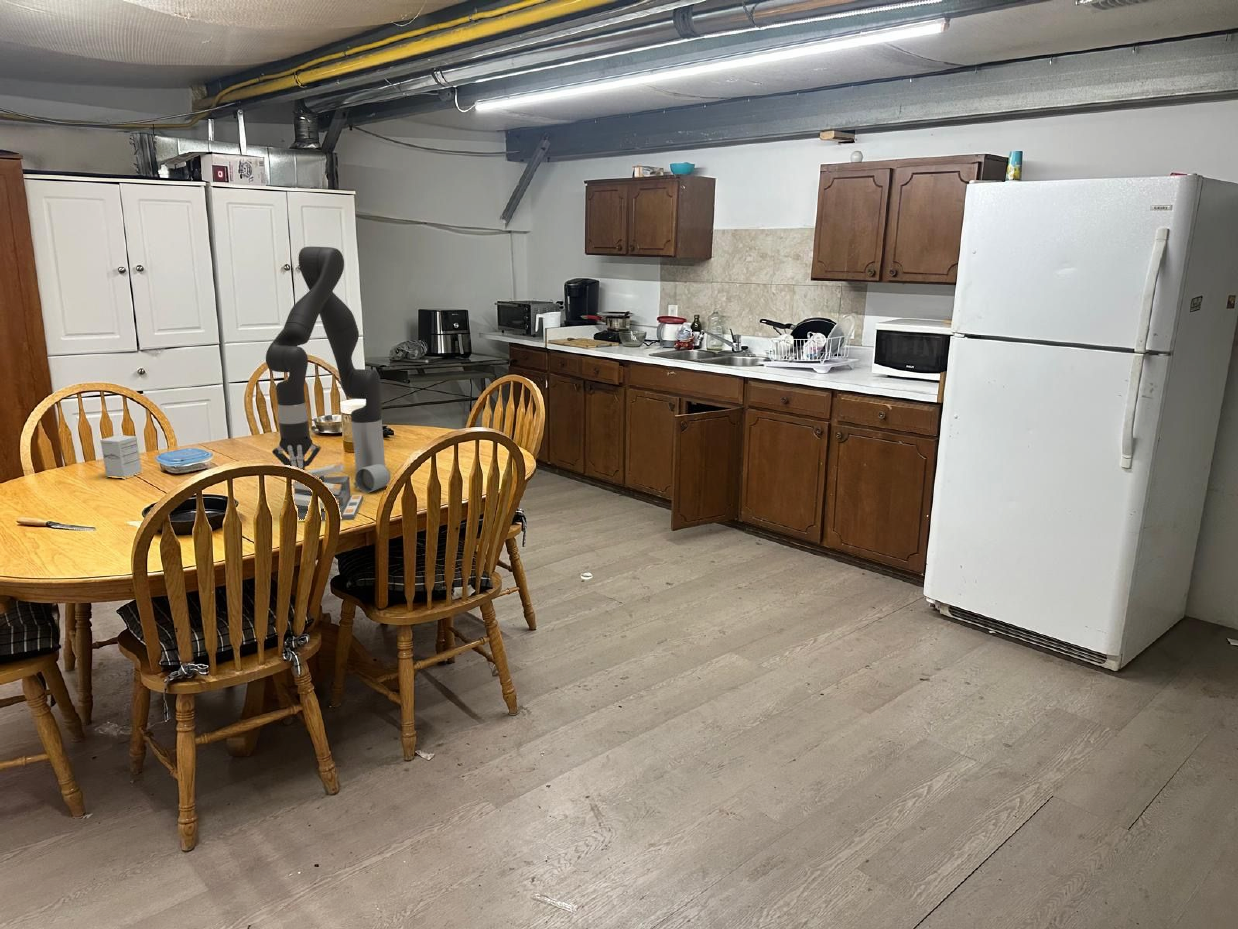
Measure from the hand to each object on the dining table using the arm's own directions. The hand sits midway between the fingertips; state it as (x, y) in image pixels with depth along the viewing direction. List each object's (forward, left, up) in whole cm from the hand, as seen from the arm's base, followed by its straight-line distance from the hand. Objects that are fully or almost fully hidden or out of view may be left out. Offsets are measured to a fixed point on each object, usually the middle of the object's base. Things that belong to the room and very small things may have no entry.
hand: (300, 480), depth 236 cm
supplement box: (-44, -63, -9) cm, 78 cm away
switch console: (0, +6, -9) cm, 11 cm away
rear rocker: (-6, +5, +1) cm, 8 cm away
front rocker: (+6, +5, -4) cm, 9 cm away
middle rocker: (0, +5, -2) cm, 5 cm away
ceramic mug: (-19, +16, -9) cm, 26 cm away
